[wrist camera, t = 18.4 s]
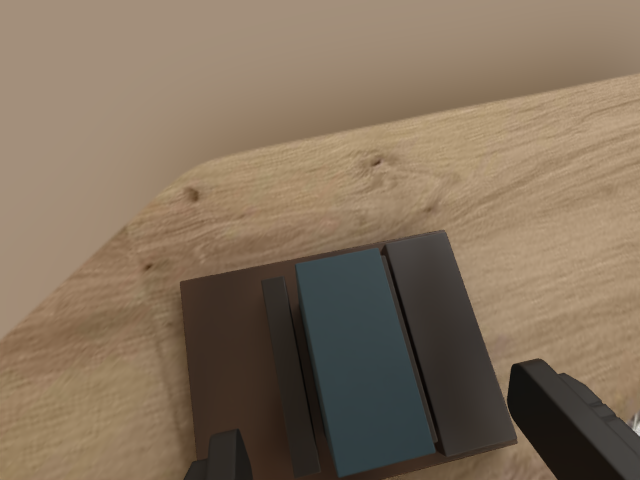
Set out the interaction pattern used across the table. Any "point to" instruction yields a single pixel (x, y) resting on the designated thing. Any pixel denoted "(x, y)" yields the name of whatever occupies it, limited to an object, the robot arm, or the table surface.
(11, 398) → the table surface
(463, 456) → the brown wooden stand
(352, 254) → the back pad
